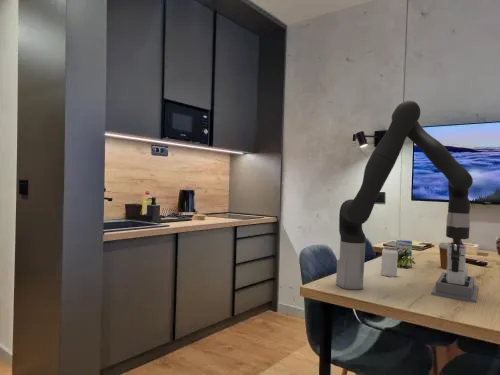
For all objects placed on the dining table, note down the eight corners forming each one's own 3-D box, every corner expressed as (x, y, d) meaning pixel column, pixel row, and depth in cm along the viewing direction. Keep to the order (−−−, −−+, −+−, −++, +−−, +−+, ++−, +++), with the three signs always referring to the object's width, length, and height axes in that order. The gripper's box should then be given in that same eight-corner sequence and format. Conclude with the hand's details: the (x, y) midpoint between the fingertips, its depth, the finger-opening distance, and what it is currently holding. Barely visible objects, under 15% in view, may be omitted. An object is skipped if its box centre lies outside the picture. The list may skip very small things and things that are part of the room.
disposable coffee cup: (454, 271, 180) (455, 246, 180) (433, 267, 187) (435, 243, 187) (462, 269, 187) (463, 245, 186) (442, 265, 194) (443, 242, 194)
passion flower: (395, 275, 191) (395, 253, 197) (418, 274, 185) (417, 252, 192) (389, 265, 183) (389, 243, 190) (413, 264, 178) (412, 242, 184)
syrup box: (464, 285, 137) (467, 245, 137) (446, 283, 139) (448, 243, 139) (463, 281, 142) (465, 243, 142) (445, 279, 145) (447, 241, 144)
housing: (475, 302, 131) (477, 268, 131) (431, 294, 139) (432, 262, 138) (477, 288, 151) (479, 258, 151) (439, 281, 159) (440, 253, 159)
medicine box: (397, 255, 217) (397, 240, 217) (395, 254, 222) (396, 239, 221) (411, 256, 216) (412, 241, 216) (409, 255, 220) (410, 240, 220)
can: (397, 277, 162) (399, 250, 162) (382, 276, 164) (383, 248, 163) (395, 274, 169) (396, 247, 169) (379, 273, 170) (381, 246, 170)
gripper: (448, 222, 148) (446, 265, 149) (444, 225, 136) (442, 272, 137) (470, 224, 144) (468, 268, 145) (468, 227, 132) (466, 275, 133)
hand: (455, 270), depth 141 cm, fingers closed on syrup box, 6 cm apart
